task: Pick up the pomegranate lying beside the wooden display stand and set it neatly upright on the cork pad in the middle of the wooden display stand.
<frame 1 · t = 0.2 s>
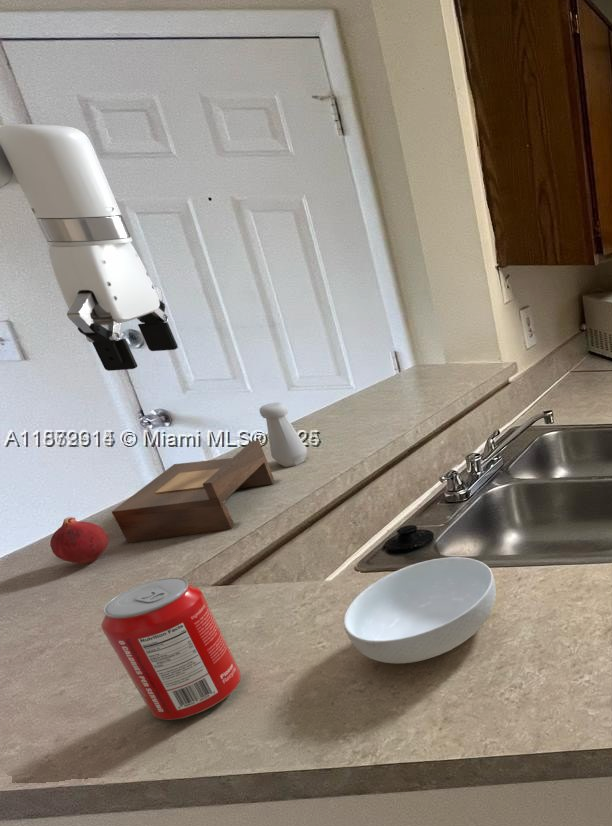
hand: (144, 359, 86), 32 cm above the counter, tool pointing down, fingers open, 9 cm apart
salt shaker: (293, 463, 128), on the counter
cereal bowl: (434, 637, 82), on the counter
pomegranate: (91, 563, 96), on the counter
wooden display stand: (208, 509, 110), on the counter
soda can: (201, 699, 72), on the counter
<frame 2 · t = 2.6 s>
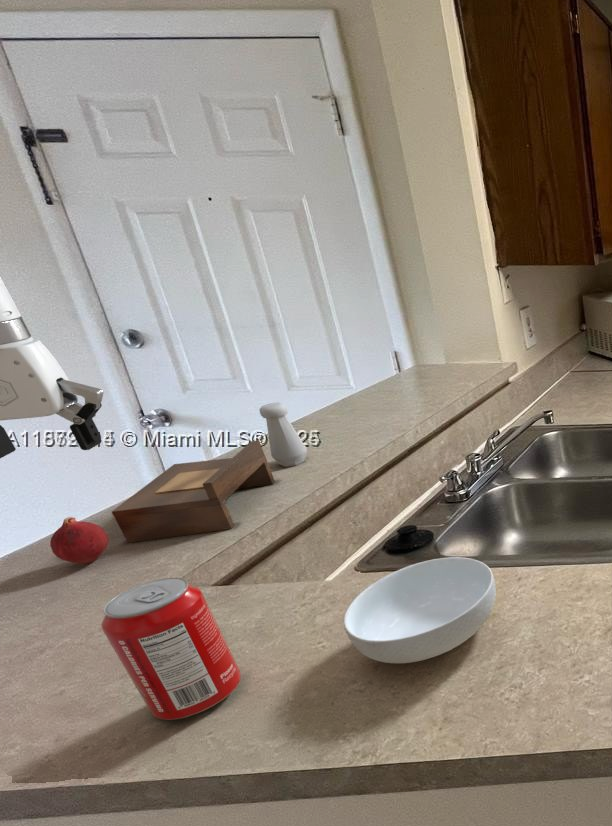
hand: (49, 450, 88), 19 cm above the counter, tool pointing down, fingers open, 9 cm apart
nothing on the counter moved.
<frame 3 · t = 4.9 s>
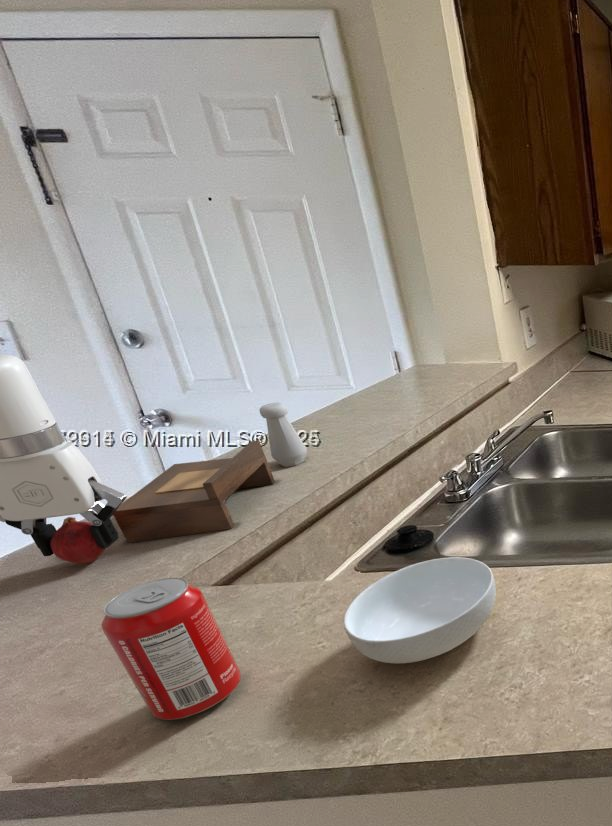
hand: (82, 546, 94), 3 cm above the counter, tool pointing down, fingers closed on pomegranate, 5 cm apart
pomegranate: (91, 563, 96), on the counter, touching gripper
everything else where it was.
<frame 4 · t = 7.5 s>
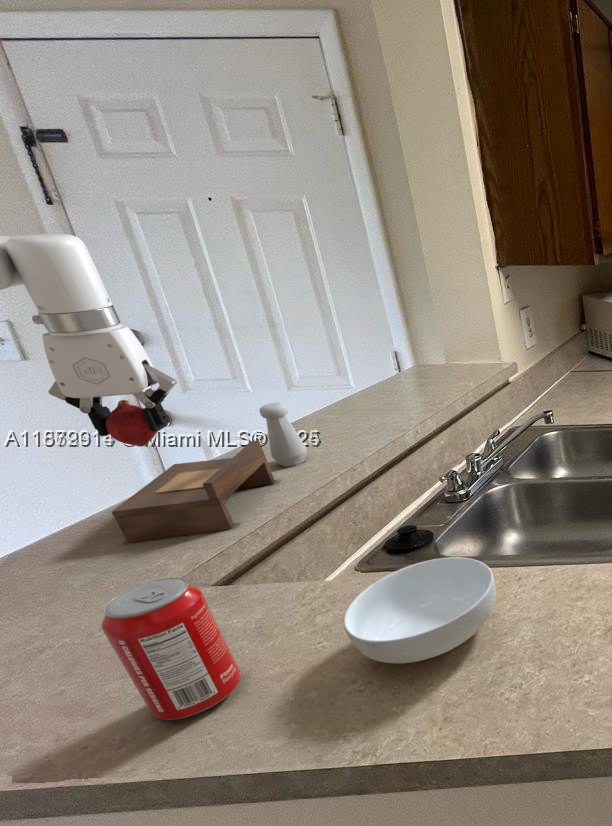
hand: (135, 429, 99), 18 cm above the counter, tool pointing down, fingers closed on pomegranate, 5 cm apart
pomegranate: (143, 447, 100), point 15 cm above the counter, touching gripper
everything else where it was.
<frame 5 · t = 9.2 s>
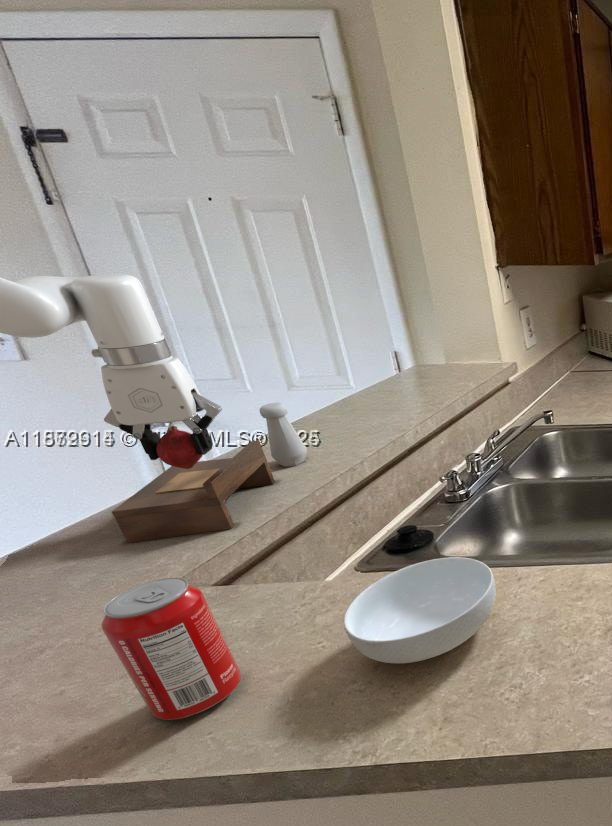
hand: (182, 453, 106), 11 cm above the counter, tool pointing down, fingers closed on pomegranate, 5 cm apart
pomegranate: (189, 469, 107), point 8 cm above the counter, touching gripper
everything else where it was.
when the fingers open (9 cm above the counter, at t = 10.4 s): pomegranate stays where it is, resting on wooden display stand.
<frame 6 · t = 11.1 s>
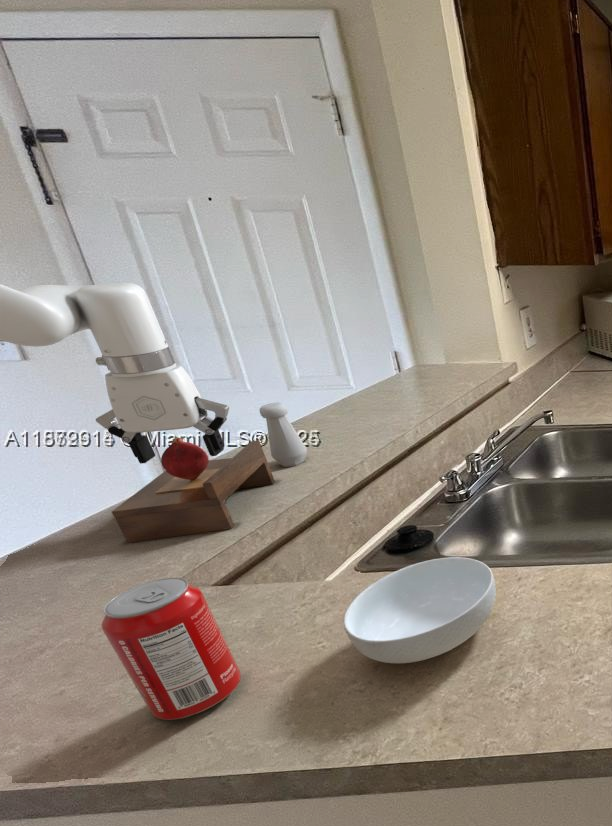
hand: (183, 456, 106), 11 cm above the counter, tool pointing down, fingers open, 9 cm apart
pomegranate: (194, 480, 108), point 6 cm above the counter, touching wooden display stand
everything else where it was.
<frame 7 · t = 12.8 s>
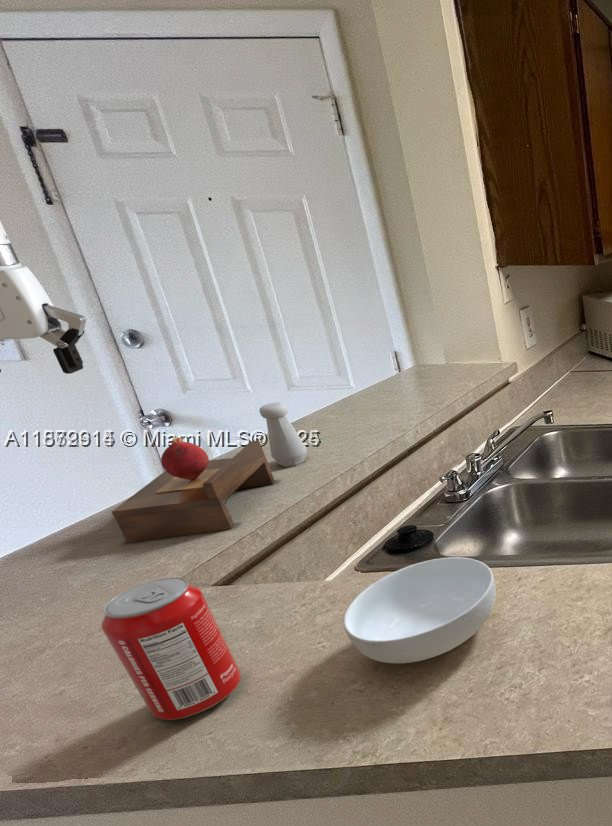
hand: (33, 373, 94), 28 cm above the counter, tool pointing down, fingers open, 9 cm apart
nothing on the counter moved.
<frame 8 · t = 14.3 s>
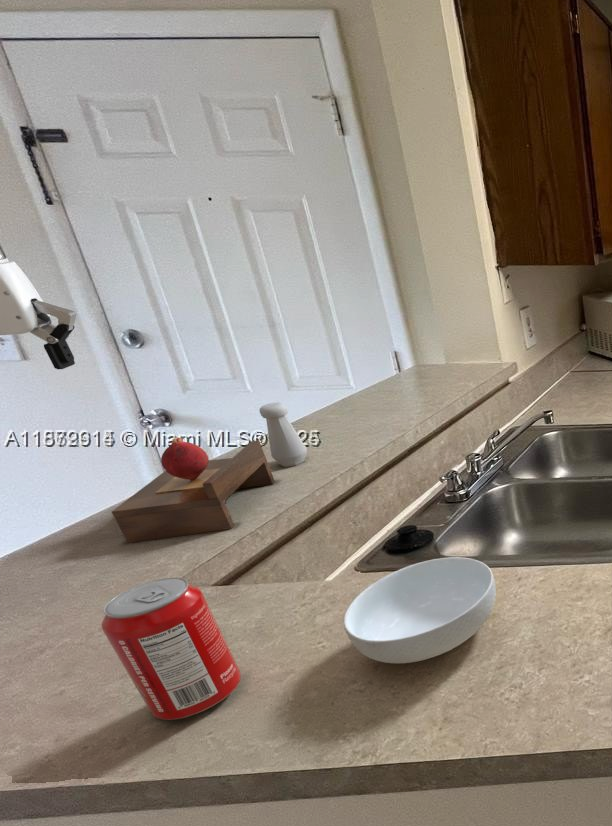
hand: (24, 369, 93), 28 cm above the counter, tool pointing down, fingers open, 9 cm apart
nothing on the counter moved.
at the end: pomegranate 0.1 cm off-centre on the wooden display stand, point 6.0 cm above the wooden display stand's base; pomegranate tilted 0°; the gripper is holding nothing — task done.
